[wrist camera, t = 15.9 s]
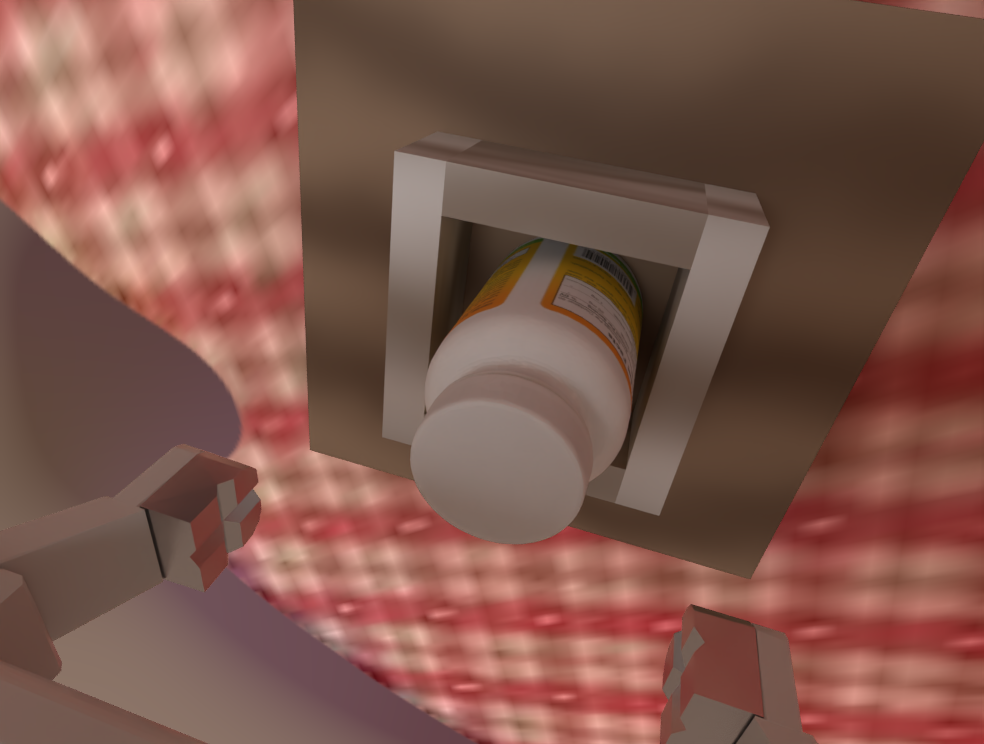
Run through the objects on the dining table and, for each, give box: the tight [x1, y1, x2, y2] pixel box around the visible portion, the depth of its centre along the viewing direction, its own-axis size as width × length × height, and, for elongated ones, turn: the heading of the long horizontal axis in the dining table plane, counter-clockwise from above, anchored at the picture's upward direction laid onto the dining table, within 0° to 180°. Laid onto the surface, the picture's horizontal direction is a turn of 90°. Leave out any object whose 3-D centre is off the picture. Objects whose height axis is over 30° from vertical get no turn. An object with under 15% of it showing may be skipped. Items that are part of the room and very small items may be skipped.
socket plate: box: [293, 0, 984, 579], centre depth 20 cm, size 20×20×4 cm
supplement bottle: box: [410, 237, 643, 544], centre depth 17 cm, size 5×5×10 cm
